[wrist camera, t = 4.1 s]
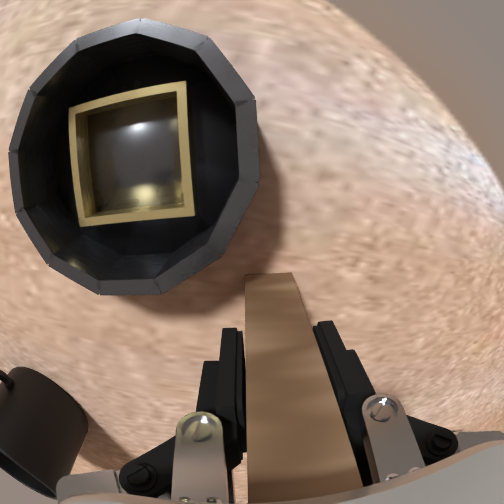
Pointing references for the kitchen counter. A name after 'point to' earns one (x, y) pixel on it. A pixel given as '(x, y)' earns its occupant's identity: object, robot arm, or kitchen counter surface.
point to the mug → (38, 430)
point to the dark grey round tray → (135, 158)
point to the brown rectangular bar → (290, 401)
